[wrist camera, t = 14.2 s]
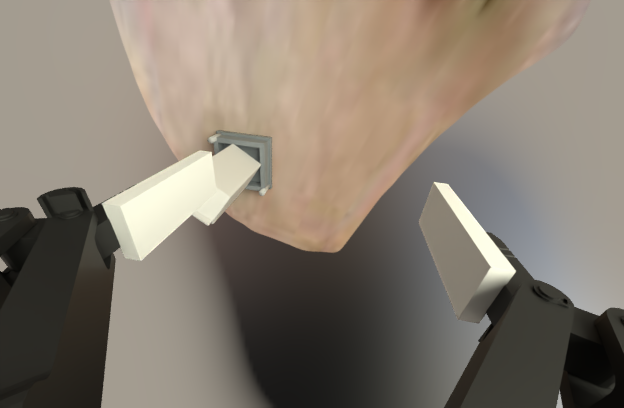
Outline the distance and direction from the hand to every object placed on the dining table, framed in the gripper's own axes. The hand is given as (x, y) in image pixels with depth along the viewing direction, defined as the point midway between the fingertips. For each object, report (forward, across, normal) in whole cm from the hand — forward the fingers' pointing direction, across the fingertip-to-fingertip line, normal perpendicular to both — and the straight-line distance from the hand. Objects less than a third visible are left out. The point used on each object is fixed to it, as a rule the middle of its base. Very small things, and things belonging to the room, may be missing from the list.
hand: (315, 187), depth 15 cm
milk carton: (+33, -20, -14) cm, 41 cm away
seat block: (+37, -20, -14) cm, 44 cm away
